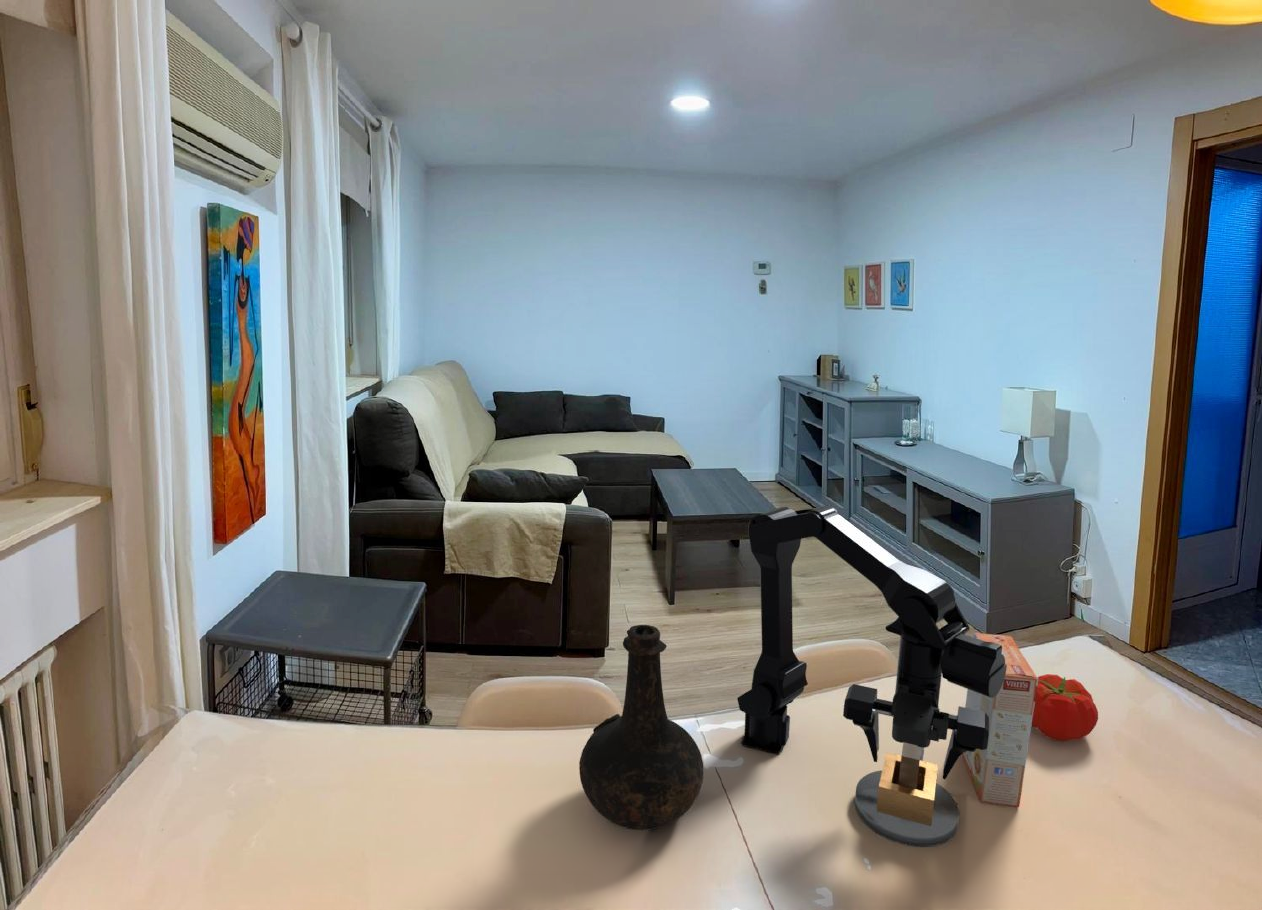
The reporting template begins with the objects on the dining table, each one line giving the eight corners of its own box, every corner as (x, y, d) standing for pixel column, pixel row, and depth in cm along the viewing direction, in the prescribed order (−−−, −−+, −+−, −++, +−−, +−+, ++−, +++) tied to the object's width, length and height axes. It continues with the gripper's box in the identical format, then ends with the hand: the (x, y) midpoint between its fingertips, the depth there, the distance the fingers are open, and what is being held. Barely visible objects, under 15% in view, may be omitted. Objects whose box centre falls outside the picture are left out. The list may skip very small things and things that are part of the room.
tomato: (1019, 702, 141) (1025, 659, 140) (1098, 725, 134) (1105, 680, 132) (1005, 734, 131) (1011, 688, 129) (1089, 760, 124) (1097, 712, 122)
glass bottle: (640, 754, 125) (642, 591, 118) (728, 808, 112) (735, 629, 106) (553, 805, 112) (551, 627, 106) (641, 872, 100) (644, 673, 94)
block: (895, 805, 110) (901, 755, 108) (898, 789, 114) (903, 740, 112) (913, 810, 109) (919, 760, 107) (915, 793, 113) (921, 744, 111)
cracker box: (1022, 809, 113) (1040, 678, 108) (978, 803, 114) (994, 673, 109) (998, 753, 126) (1013, 634, 121) (958, 748, 127) (972, 630, 123)
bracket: (847, 828, 108) (850, 790, 107) (865, 759, 124) (868, 726, 122) (955, 858, 103) (960, 819, 101) (960, 783, 118) (964, 748, 117)
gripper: (840, 680, 103) (832, 784, 107) (994, 713, 96) (980, 823, 99) (853, 645, 113) (845, 741, 117) (993, 672, 106) (981, 773, 109)
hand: (909, 768), depth 110 cm, fingers open, 9 cm apart
